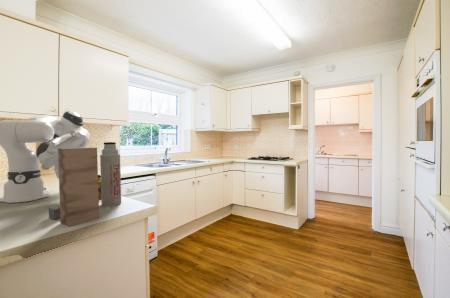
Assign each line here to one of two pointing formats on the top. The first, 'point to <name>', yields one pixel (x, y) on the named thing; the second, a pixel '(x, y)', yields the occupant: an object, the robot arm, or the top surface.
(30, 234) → the top surface
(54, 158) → the robot arm
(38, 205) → the top surface
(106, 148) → the thermos bottle
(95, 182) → the pedestal
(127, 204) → the top surface
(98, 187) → the condiment
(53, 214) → the brushed metal plate
